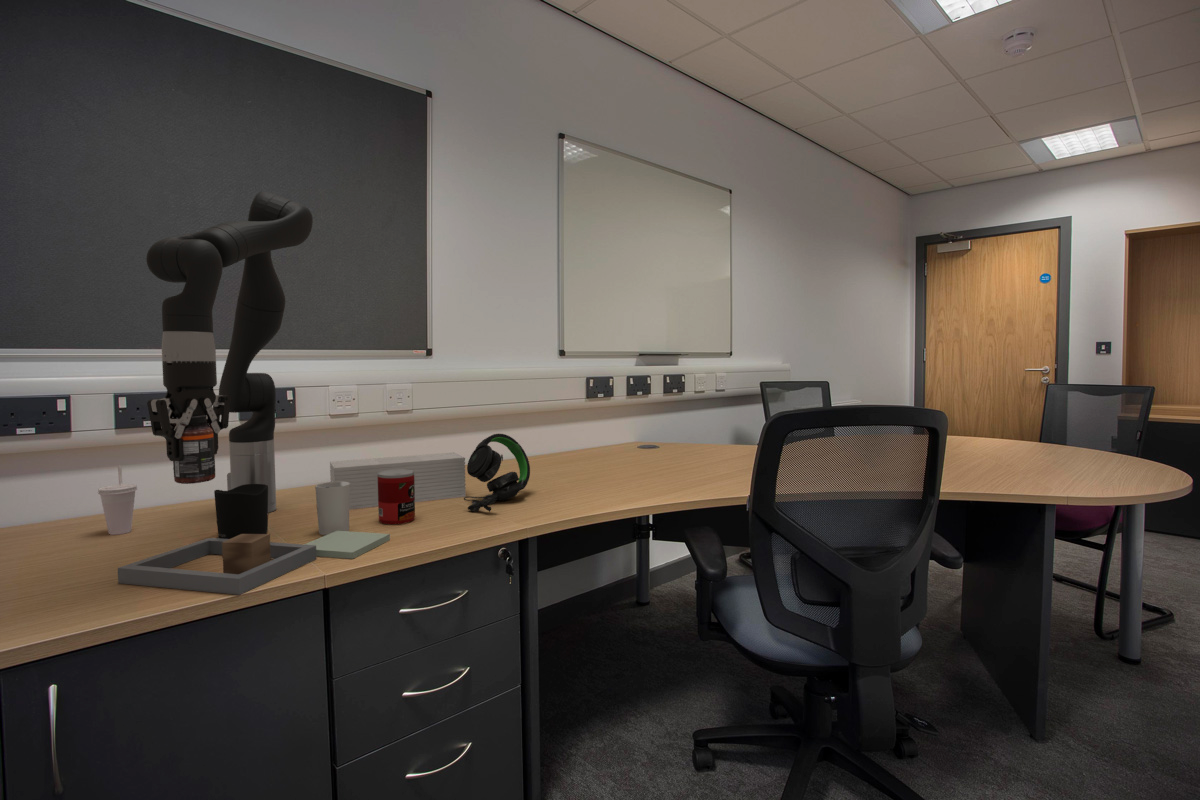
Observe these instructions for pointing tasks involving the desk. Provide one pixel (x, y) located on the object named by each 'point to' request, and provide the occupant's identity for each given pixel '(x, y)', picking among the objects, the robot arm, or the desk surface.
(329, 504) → the grey cup
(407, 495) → the canned food
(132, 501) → the smoothie
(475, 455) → the headset
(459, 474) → the grey ridged block
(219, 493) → the pen holder
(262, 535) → the walnut block
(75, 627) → the desk surface
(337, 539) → the green board
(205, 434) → the supplement bottle
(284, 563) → the parts tray
